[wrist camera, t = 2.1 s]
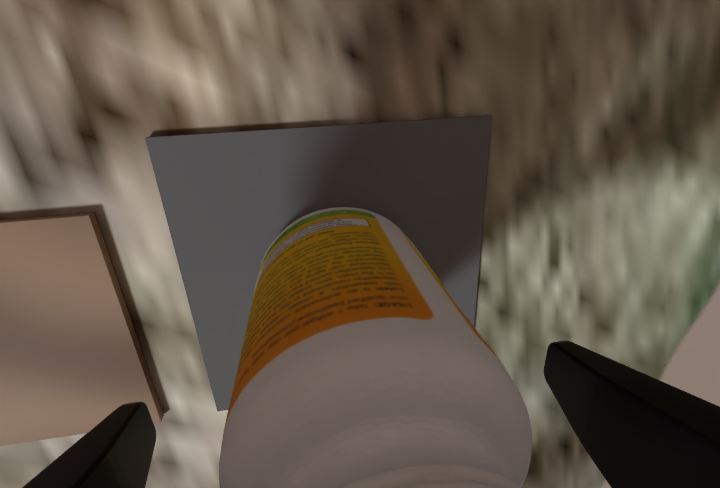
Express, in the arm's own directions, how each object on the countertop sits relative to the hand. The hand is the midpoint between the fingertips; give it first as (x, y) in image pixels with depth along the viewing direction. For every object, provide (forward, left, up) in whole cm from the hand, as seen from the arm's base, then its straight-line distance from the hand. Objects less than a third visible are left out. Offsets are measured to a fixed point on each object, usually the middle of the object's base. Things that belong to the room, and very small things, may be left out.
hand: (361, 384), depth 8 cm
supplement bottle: (0, 0, -5) cm, 5 cm away
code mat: (0, 0, -5) cm, 5 cm away
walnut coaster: (-1, +11, -5) cm, 12 cm away
